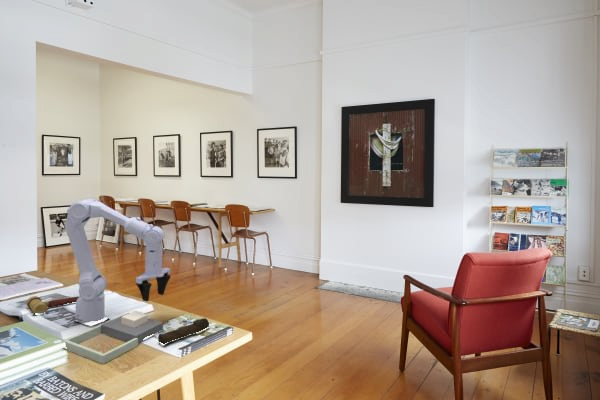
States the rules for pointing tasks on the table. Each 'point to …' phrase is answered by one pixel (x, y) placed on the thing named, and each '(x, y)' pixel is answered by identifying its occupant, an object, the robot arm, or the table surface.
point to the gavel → (47, 303)
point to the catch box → (92, 354)
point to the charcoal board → (130, 329)
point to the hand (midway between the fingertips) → (153, 297)
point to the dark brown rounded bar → (184, 331)
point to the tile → (134, 319)
